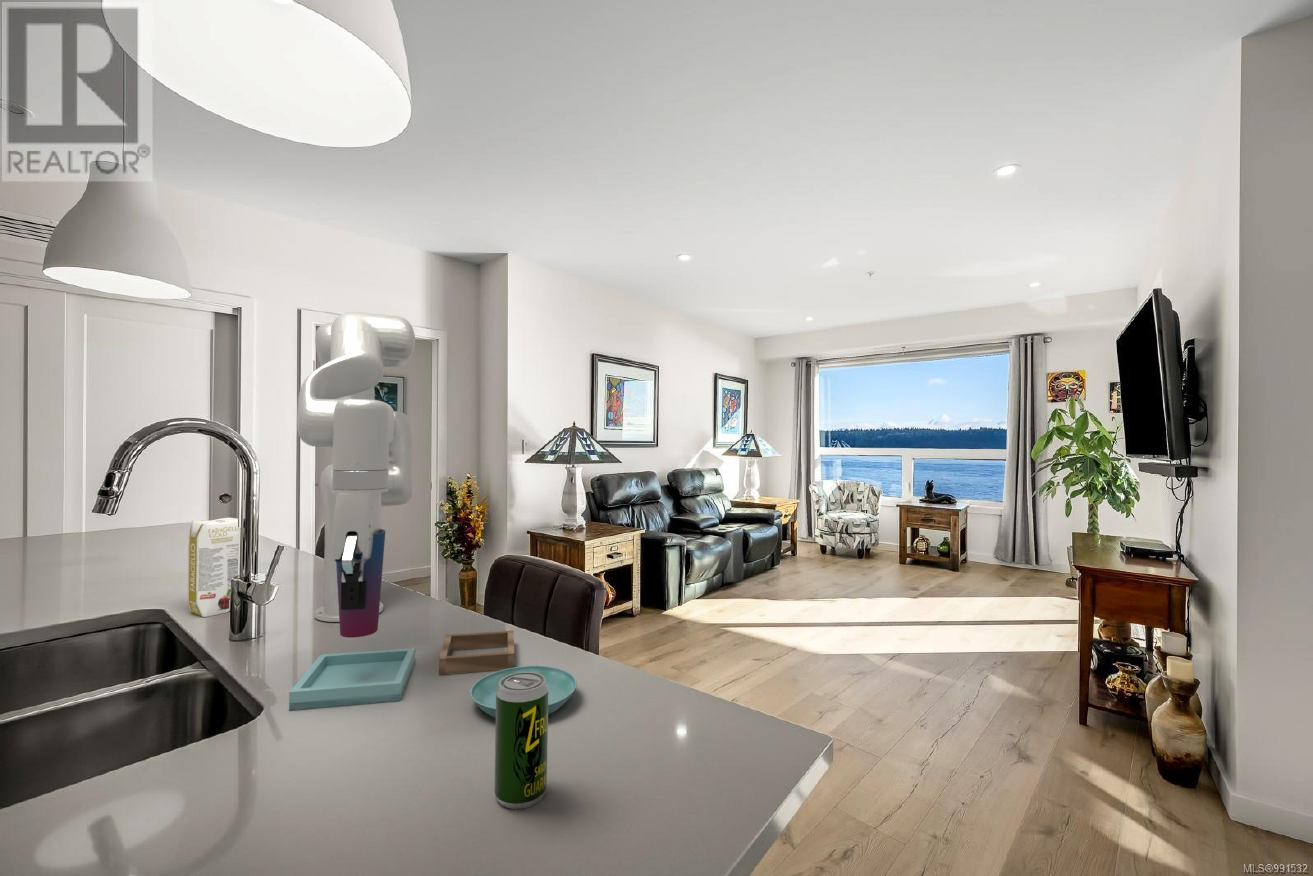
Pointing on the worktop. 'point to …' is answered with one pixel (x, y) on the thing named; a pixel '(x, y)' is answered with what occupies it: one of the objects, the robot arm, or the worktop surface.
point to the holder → (476, 660)
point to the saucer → (556, 679)
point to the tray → (353, 679)
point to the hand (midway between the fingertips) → (359, 601)
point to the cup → (367, 618)
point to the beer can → (521, 739)
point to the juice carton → (212, 565)
